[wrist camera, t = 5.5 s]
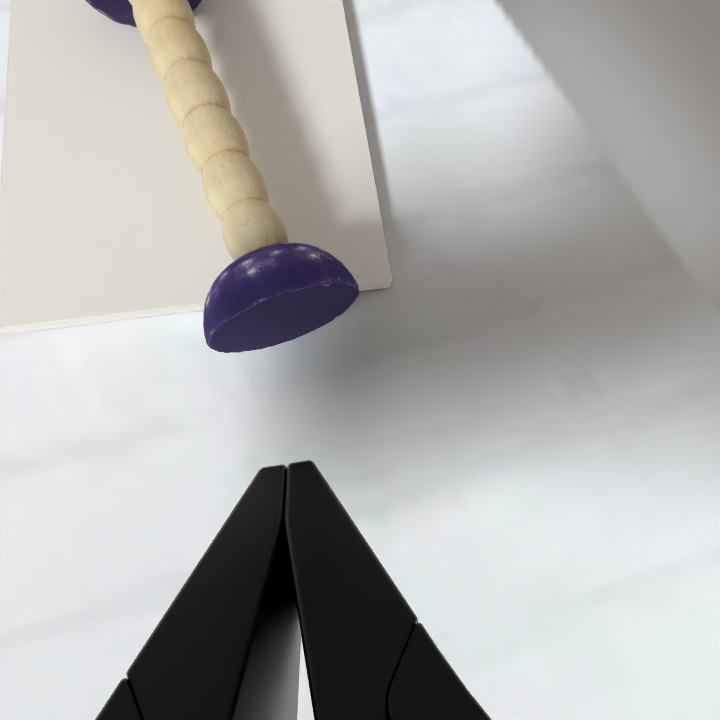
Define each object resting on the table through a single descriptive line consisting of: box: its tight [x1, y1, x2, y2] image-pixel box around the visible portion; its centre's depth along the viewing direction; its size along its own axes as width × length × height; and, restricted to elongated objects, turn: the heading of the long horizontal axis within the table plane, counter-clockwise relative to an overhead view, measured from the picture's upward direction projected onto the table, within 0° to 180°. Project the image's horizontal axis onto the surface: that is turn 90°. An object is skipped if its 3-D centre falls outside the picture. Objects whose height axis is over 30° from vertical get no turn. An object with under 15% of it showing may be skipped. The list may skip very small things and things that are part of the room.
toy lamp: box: [85, 0, 359, 353], centre depth 14 cm, size 5×5×17 cm
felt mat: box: [0, 0, 393, 335], centre depth 16 cm, size 16×12×1 cm
